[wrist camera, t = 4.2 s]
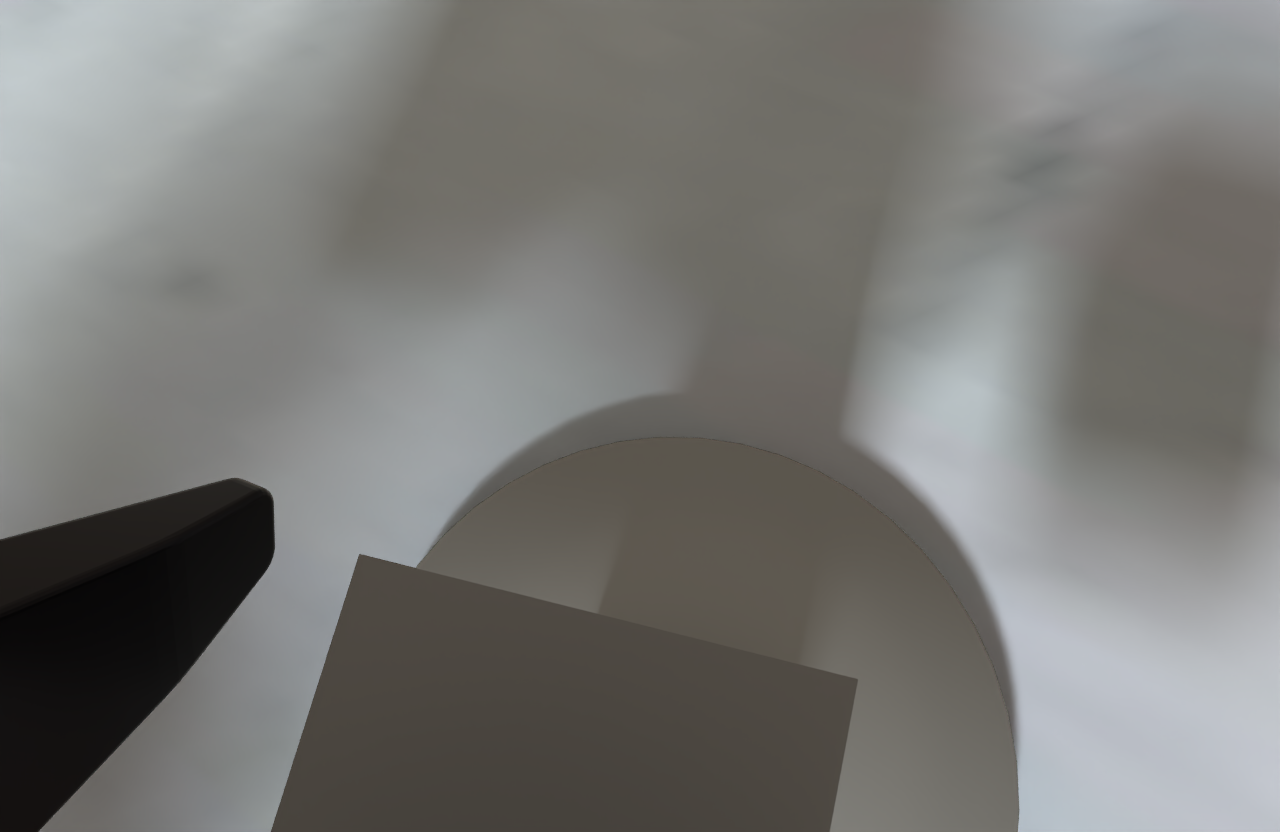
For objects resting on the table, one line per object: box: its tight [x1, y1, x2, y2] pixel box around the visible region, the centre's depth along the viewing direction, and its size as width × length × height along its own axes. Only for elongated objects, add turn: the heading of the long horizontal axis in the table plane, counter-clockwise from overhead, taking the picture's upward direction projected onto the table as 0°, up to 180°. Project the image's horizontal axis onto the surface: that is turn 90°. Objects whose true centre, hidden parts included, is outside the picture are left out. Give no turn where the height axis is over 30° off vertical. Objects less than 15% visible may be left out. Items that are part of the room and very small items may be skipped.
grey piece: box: [271, 437, 1019, 832], centre depth 11 cm, size 11×11×11 cm
